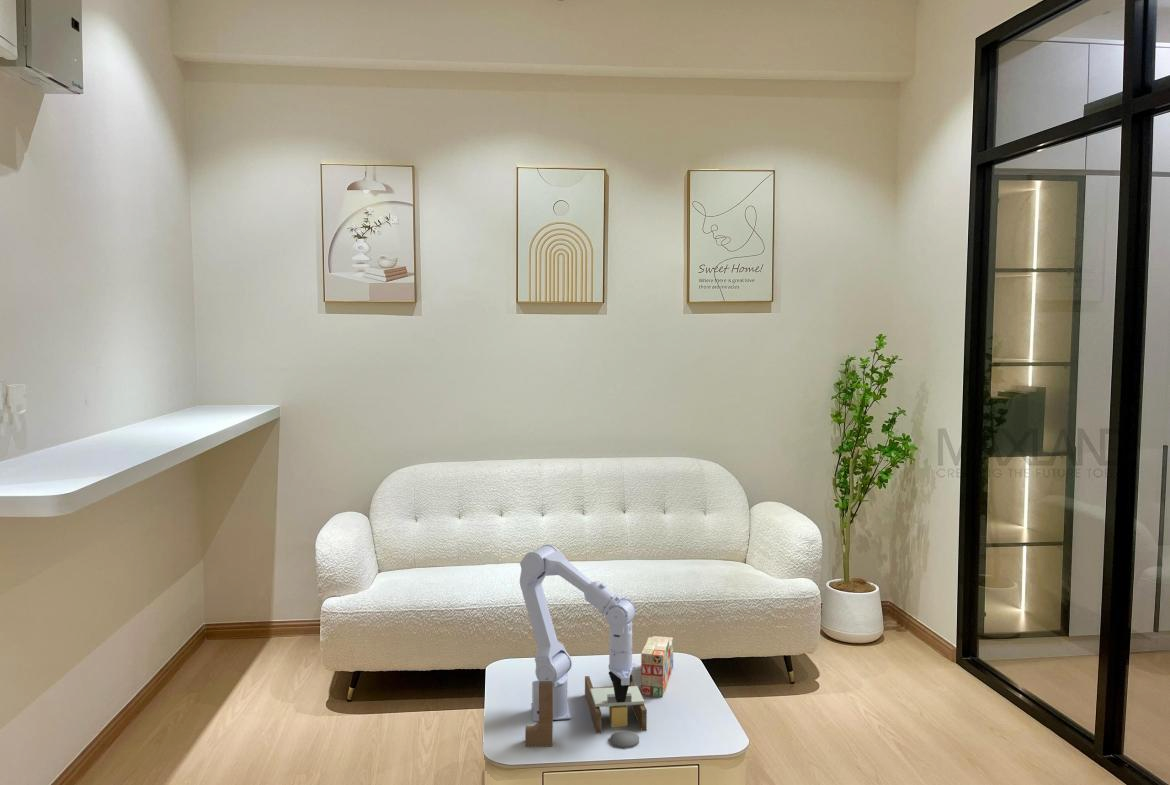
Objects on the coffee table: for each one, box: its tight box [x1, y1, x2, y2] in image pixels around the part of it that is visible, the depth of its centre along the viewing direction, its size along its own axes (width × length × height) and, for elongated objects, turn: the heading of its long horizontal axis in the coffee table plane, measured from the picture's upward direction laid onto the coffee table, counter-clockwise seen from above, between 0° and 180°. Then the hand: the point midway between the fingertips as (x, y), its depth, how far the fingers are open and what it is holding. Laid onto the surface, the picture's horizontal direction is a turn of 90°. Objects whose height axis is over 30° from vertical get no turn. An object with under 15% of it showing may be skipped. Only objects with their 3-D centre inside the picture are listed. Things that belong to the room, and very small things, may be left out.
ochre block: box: [608, 705, 628, 728], centre depth 206 cm, size 4×4×5 cm
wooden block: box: [524, 681, 554, 747], centre depth 195 cm, size 7×3×15 cm, turn 91°
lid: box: [590, 685, 645, 708], centre depth 208 cm, size 13×9×2 cm
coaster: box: [610, 730, 640, 749], centre depth 197 cm, size 7×7×1 cm
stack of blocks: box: [640, 635, 674, 698], centre depth 232 cm, size 21×6×12 cm, turn 166°
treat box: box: [584, 675, 648, 734], centre depth 212 cm, size 13×22×5 cm, turn 8°
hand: (620, 701), depth 203 cm, fingers closed
